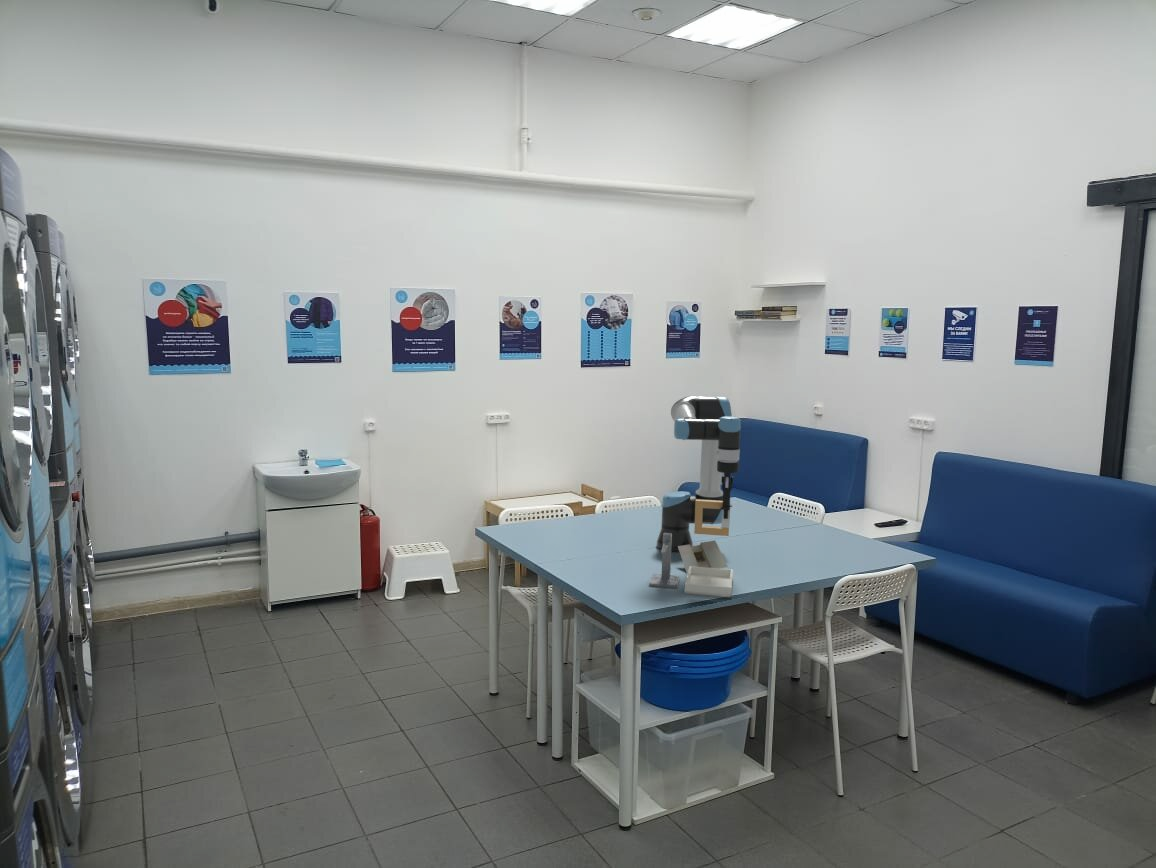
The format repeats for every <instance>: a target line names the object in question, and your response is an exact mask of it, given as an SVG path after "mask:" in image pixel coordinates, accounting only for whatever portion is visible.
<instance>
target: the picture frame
mask: <svg viewBox="0 0 1156 868" xmlns="http://www.w3.org/2000/svg"><path fill="white" fill-rule="evenodd" d="M722 506H723V501H716V500H699V499H696V501H695V524H694V528H693V529H694V533H693V534H694V535H705V536H706V535H707V536H708V535H709V536H724V537H729V535H730V533H729V532H730V527H729V528H724V527H721V526H708V525H703V524H702V514H703V508H710V509H720V507H721V508H722Z"/></svg>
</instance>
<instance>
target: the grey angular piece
mask: <svg viewBox="0 0 1156 868" xmlns="http://www.w3.org/2000/svg"><path fill="white" fill-rule="evenodd" d="M678 548H679V551H678V552H679V554H680V555H679V556H680V557H681V560H682V562H683V566H684V569H685V572H686V574H688V570H689V566H694V567H707V568H720V569H726V568H728V564H727V561H726V560H725V557H724V556H723V553H722V552H721V551H722V550H720V547H719V545H718V544H717V541H716V540H711V541H710V540H709V541H703V542H700V544H698V545H693V546H690V544H689V545H682V546H678Z"/></svg>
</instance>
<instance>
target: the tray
mask: <svg viewBox="0 0 1156 868" xmlns="http://www.w3.org/2000/svg"><path fill="white" fill-rule="evenodd" d="M686 574H687V575H686V578H685V582H684V594H687V595H698V596H709V597H710V596H713V597H721V598H722V597H723V598H732V594H733V593H732V592H733V591H732V590H733V580H734V579H733V577H734V569H730V568H707V567H694V566H689V570H688V573H686Z"/></svg>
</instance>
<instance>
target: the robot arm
mask: <svg viewBox="0 0 1156 868" xmlns="http://www.w3.org/2000/svg"><path fill="white" fill-rule="evenodd" d="M670 415H671V419H672V420H673V422H674V424H673V425H674V426H673V437H674V438H675V439H676V440H683V441H686V440H687V441H688V440H689V441H690V440H692V441H693V440H696V441H697V440H698V441H701V450H700V452H701V455H700V474H699V488H698V489H696V490H695V495H691V492H690V491H682V490H681V491H672V492H667V493H666V494H664V495H663V496H662V504H661V529H660V532H659V534H658V537H657V540H656V548H658V549H660V550H662V546H663V533H672V545H671V552H679V548H678V546H682V545H689V544H690V546H694V544H693V538H692V535H691V532H690V524H694V525H695V501H696V499H699V500H716V501H723V506H722V508H721V507H720V509H710V508H703V514H702V525H720V524H721V526H720V527H724V528H729V529H730V523H731V522H730V520H731V508H732V507H733V504H731V492H732V490H733V483H734V476H732V474H737V473H739V469H740V463H739V461H740V452H741V449H740V443H741V429H742V425H741V418H739V417H736V416H732V407H731V402H730V399H729V398H727V397H726V396H717V395H711V396H709V395H689V396H685V397H683V398H680V399H678V400H677V401H676V402H674V404H673V405H672V407H671V410H670ZM722 474H723V476H722Z"/></svg>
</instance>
